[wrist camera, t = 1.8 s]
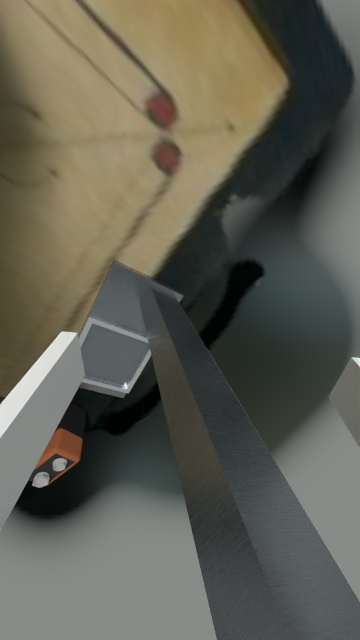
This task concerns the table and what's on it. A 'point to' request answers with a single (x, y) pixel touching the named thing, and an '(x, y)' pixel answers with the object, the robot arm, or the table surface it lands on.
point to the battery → (61, 447)
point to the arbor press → (219, 472)
